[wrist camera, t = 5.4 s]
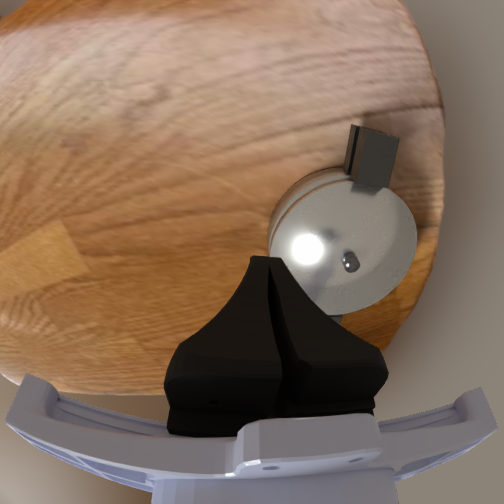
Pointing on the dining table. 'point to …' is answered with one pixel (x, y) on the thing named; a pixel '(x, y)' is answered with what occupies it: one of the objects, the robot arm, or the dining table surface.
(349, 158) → the pot
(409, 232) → the lid
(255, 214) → the dining table surface
